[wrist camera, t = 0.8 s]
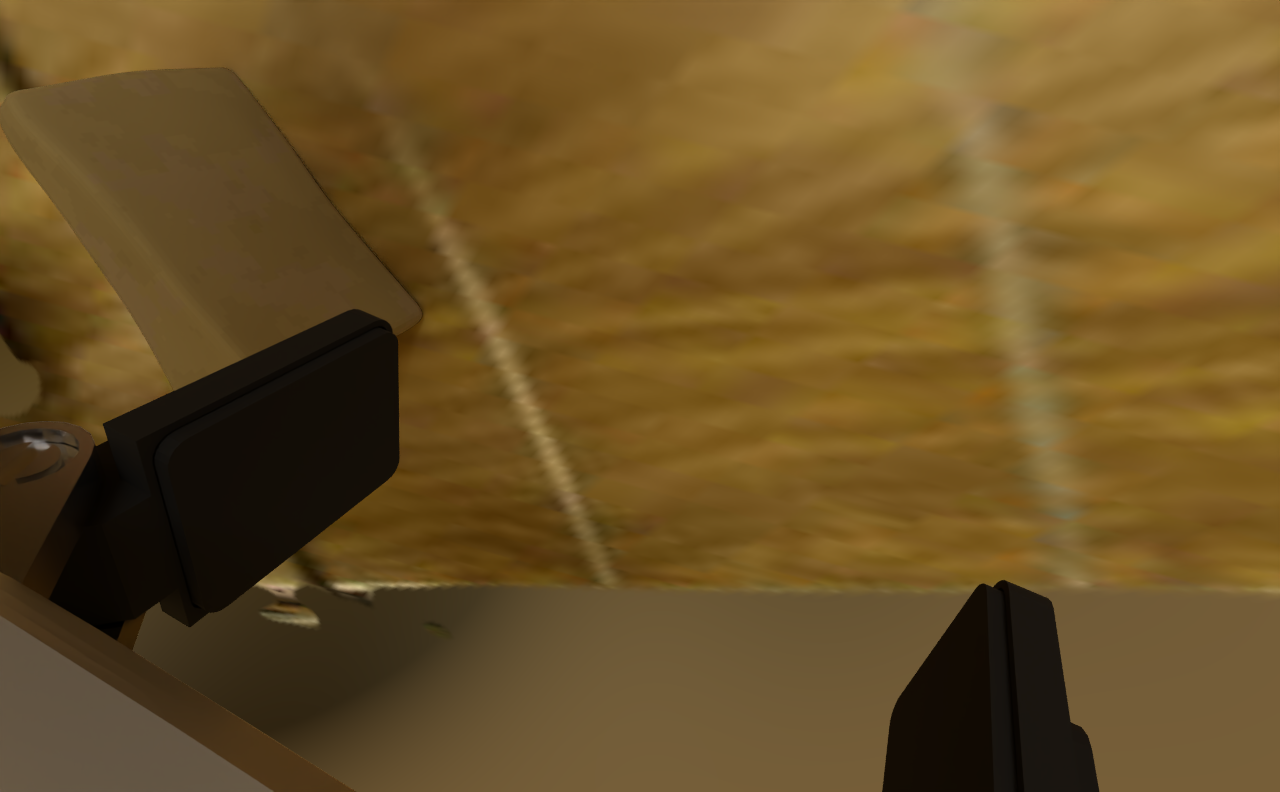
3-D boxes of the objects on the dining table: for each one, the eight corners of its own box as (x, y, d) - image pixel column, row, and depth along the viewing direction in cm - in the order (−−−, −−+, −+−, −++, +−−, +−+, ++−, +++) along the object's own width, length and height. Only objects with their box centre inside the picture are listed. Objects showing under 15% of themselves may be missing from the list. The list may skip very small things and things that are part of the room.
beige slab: (196, 105, 51) (-42, 128, 39) (258, 32, 46) (4, 32, 34) (360, 356, 56) (194, 444, 44) (432, 316, 51) (266, 404, 39)
